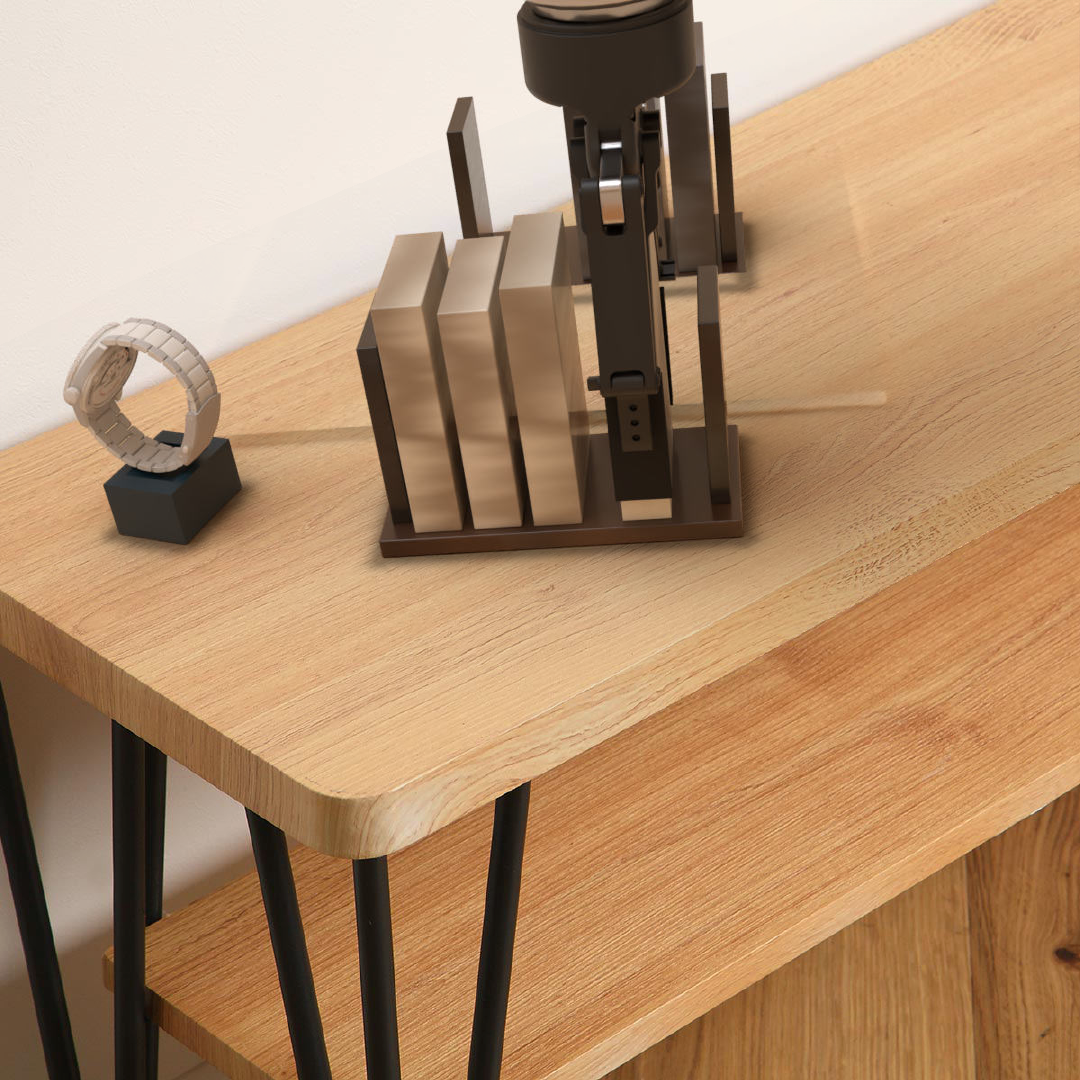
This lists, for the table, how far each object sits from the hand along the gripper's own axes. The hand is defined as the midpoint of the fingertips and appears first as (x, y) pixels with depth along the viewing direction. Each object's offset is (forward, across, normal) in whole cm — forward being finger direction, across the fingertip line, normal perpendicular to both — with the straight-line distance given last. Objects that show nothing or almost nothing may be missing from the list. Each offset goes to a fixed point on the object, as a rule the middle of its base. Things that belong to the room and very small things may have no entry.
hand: (645, 447), depth 82 cm
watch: (+3, -1, -25) cm, 26 cm away
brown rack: (+3, 0, -4) cm, 5 cm away
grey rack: (+3, -27, -3) cm, 27 cm away
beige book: (+2, 0, 0) cm, 2 cm away
